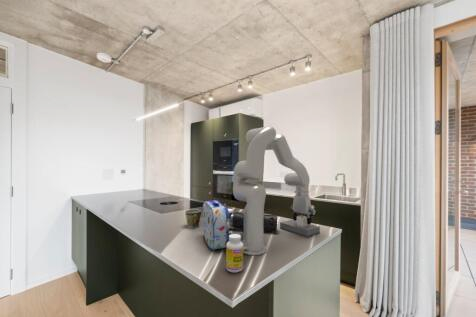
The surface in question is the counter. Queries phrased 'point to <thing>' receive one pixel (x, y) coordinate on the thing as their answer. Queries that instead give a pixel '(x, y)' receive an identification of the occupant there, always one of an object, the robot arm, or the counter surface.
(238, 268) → the supplement bottle
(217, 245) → the lunch box
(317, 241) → the counter surface
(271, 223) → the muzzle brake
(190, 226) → the olive green tapered container
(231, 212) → the spread jar
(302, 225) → the charger
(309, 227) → the outlet box
